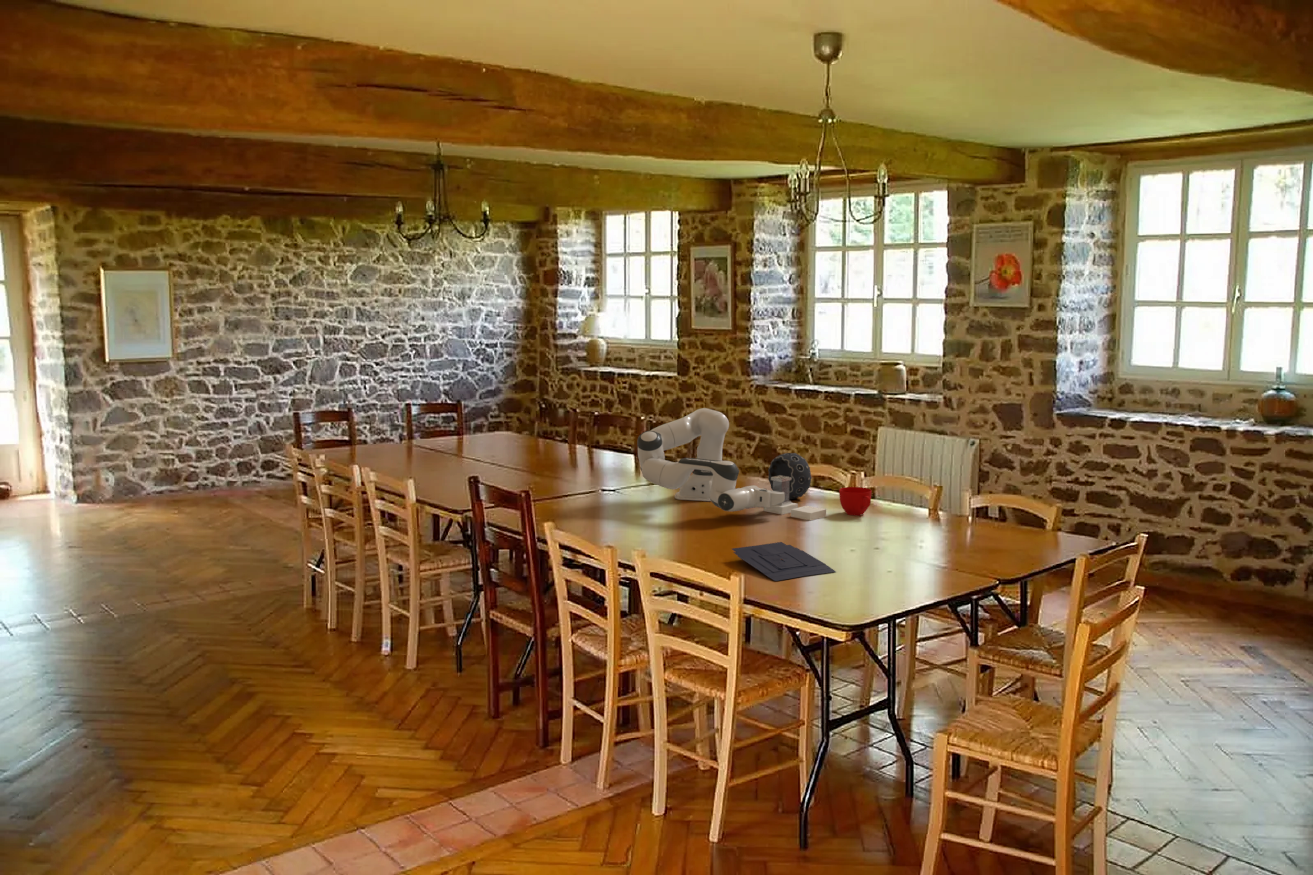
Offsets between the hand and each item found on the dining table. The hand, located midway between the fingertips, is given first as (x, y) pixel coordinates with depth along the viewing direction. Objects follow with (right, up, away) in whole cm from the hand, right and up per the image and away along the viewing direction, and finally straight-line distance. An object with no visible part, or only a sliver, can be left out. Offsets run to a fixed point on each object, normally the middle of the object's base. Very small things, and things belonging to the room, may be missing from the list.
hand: (774, 492), depth 430 cm
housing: (+3, -5, +4) cm, 7 cm away
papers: (-7, -21, -80) cm, 83 cm away
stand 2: (+13, -10, -6) cm, 17 cm away
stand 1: (+3, -8, +5) cm, 10 cm away
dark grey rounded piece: (+10, -5, +30) cm, 32 cm away
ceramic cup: (+34, -9, -3) cm, 35 cm away
